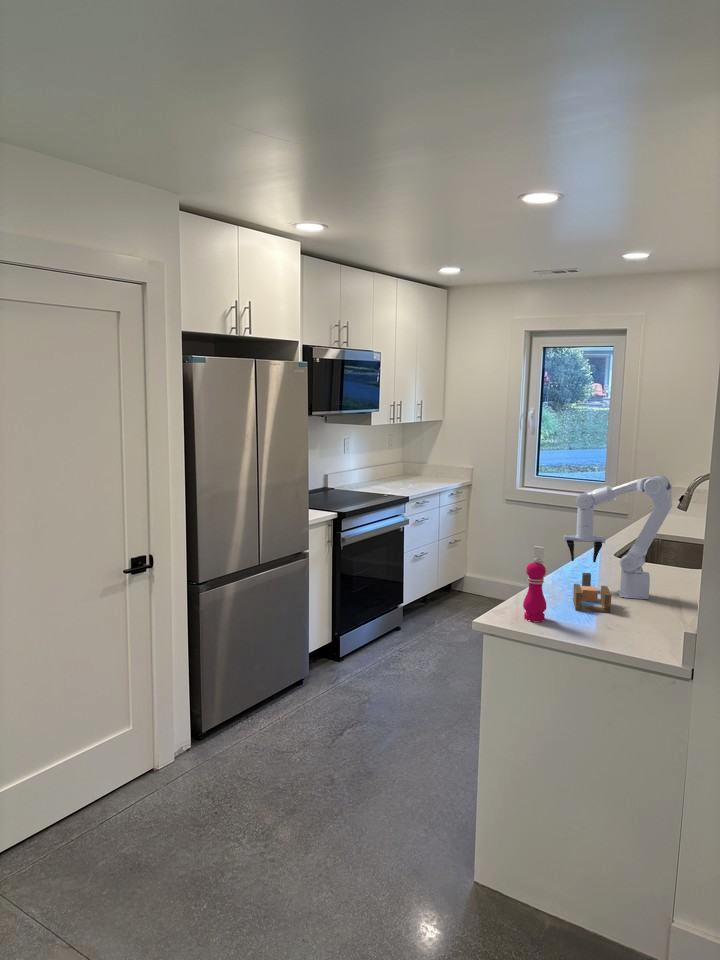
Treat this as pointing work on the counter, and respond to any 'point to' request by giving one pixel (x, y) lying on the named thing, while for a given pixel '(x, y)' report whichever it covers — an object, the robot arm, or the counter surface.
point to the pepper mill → (535, 592)
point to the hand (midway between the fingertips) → (583, 561)
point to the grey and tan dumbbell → (588, 589)
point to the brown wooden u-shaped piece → (604, 601)
